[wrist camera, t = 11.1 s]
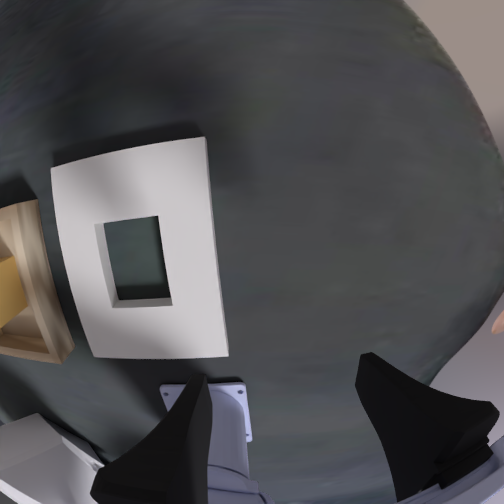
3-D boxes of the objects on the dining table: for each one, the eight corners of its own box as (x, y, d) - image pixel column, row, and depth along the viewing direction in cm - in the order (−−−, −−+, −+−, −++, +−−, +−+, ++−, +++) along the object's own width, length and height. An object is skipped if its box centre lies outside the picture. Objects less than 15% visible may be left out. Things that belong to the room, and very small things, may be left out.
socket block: (228, 345, 22) (228, 356, 21) (100, 347, 22) (94, 357, 20) (206, 139, 18) (204, 136, 16) (61, 168, 17) (50, 168, 16)
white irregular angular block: (82, 553, 13) (141, 559, 12) (-53, 457, 7) (-55, 432, 7) (98, 483, 30) (152, 463, 29) (-9, 397, 24) (15, 352, 23)
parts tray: (75, 346, 21) (61, 364, 19) (4, 338, 21) (-10, 351, 18) (37, 199, 18) (16, 203, 15) (-29, 220, 17) (-47, 226, 14)
